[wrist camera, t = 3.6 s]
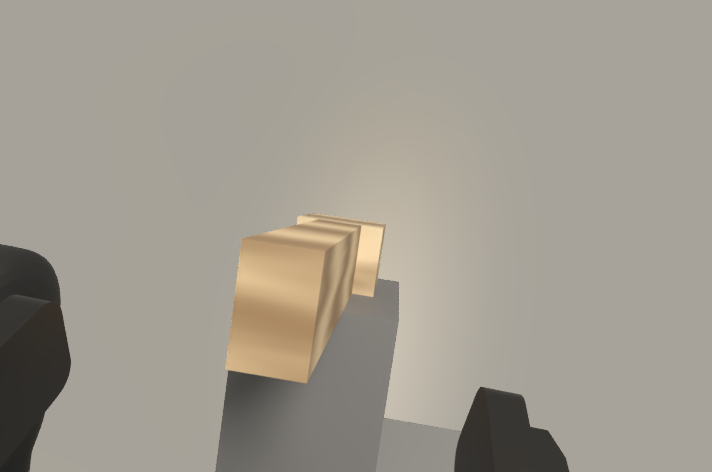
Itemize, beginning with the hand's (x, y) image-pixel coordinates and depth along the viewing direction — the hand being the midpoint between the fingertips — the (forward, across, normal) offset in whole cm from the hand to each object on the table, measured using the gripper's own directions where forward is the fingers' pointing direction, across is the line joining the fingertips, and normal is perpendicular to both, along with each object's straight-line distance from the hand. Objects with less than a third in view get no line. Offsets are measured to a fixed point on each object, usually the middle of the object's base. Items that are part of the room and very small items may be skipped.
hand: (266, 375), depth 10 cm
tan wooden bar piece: (+13, 0, -9) cm, 16 cm away
